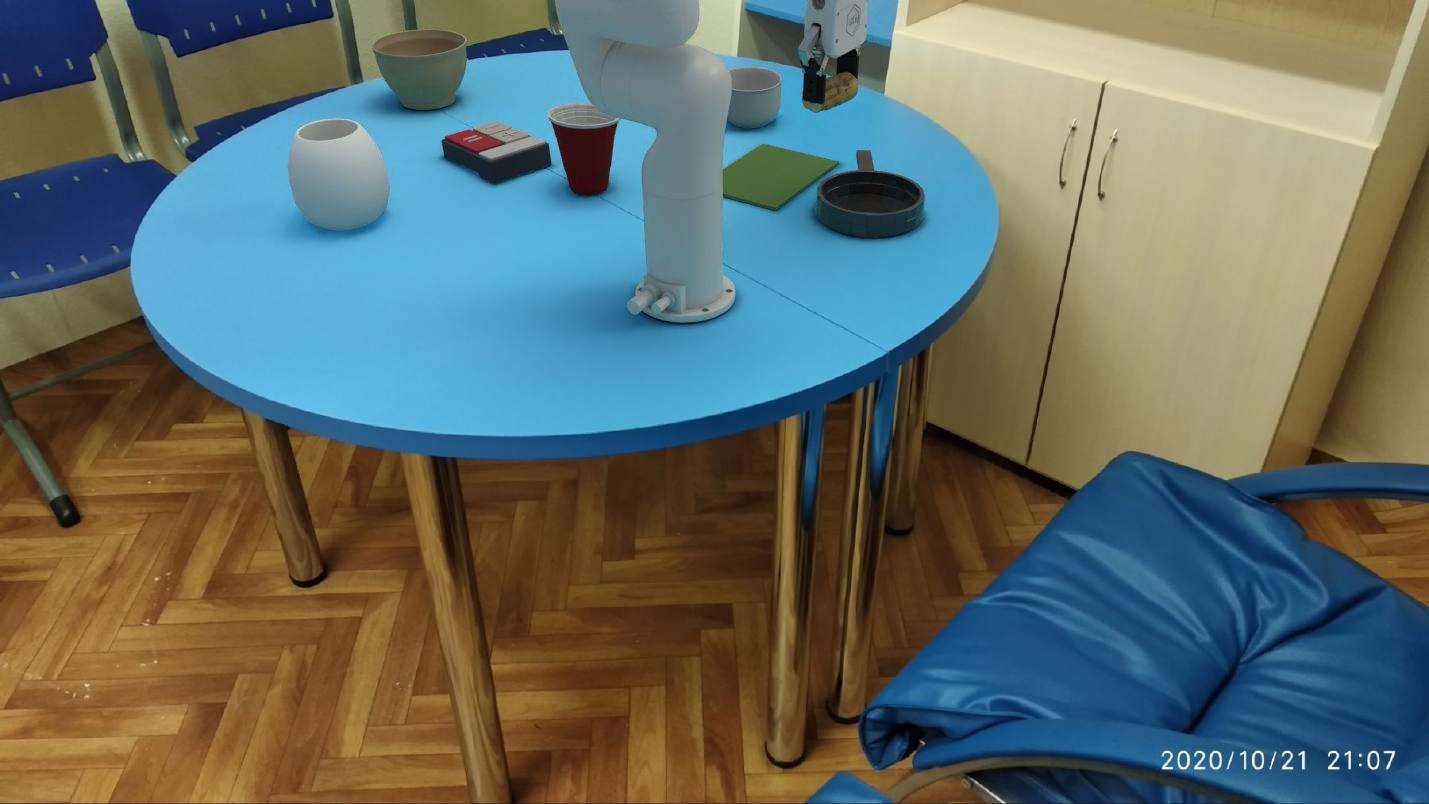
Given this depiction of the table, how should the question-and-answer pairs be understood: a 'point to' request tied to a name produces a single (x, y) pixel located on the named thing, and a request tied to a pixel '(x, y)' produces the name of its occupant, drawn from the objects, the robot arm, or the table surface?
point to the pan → (869, 203)
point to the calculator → (497, 151)
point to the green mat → (772, 176)
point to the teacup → (754, 96)
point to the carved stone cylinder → (835, 92)
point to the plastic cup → (584, 145)
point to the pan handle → (864, 160)
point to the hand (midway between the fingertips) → (830, 92)
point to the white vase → (337, 174)
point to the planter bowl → (422, 66)
